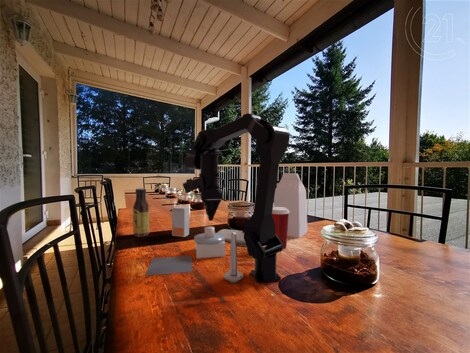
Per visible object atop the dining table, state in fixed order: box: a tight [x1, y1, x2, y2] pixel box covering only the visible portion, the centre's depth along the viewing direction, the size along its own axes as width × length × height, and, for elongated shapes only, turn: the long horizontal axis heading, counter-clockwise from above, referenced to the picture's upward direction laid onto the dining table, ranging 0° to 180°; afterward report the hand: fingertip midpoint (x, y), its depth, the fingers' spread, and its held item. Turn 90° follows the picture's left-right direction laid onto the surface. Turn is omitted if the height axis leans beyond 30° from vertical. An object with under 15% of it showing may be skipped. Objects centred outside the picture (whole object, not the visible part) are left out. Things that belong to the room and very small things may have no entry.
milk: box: [273, 172, 308, 239], centre depth 108 cm, size 12×12×26 cm
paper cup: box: [272, 206, 290, 250], centre depth 89 cm, size 8×8×14 cm
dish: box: [195, 241, 226, 259], centre depth 81 cm, size 9×9×5 cm
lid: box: [193, 226, 225, 245], centre depth 81 cm, size 10×10×4 cm
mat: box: [145, 255, 193, 277], centre depth 71 cm, size 12×12×1 cm
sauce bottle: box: [132, 187, 150, 238], centre depth 103 cm, size 6×6×20 cm
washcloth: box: [216, 228, 247, 247], centre depth 98 cm, size 12×18×3 cm, turn 68°
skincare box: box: [171, 206, 190, 238], centre depth 104 cm, size 6×4×12 cm
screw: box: [223, 232, 244, 284], centre depth 61 cm, size 13×5×5 cm
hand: (209, 217), depth 81 cm, fingers open, 9 cm apart
